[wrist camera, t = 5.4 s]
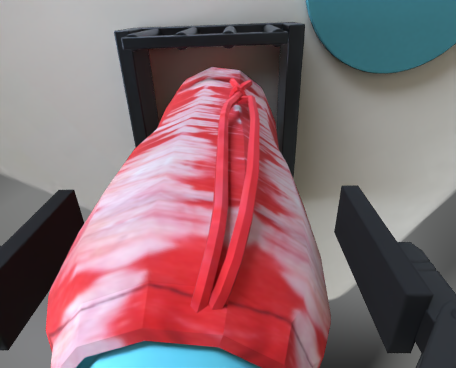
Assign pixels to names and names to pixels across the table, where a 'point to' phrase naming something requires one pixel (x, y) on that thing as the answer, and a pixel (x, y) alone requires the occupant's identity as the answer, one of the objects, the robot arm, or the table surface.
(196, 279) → the water bottle
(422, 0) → the mat
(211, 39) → the rack
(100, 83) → the table surface
